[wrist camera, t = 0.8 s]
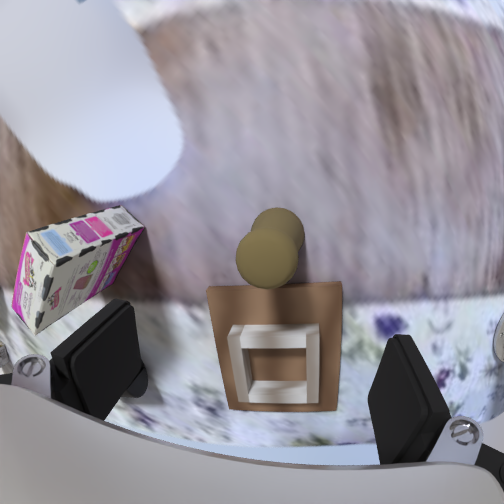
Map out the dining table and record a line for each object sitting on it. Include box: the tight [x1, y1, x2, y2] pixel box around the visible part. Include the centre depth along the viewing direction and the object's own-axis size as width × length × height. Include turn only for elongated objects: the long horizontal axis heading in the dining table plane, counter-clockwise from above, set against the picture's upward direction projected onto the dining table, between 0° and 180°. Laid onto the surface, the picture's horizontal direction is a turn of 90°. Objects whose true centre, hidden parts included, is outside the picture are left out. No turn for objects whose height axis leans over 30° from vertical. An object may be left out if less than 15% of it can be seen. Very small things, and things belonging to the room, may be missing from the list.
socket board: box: [206, 281, 342, 412], centre depth 36 cm, size 16×20×4 cm
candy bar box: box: [12, 205, 144, 336], centre depth 30 cm, size 11×5×16 cm, turn 142°
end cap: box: [121, 360, 148, 398], centre depth 41 cm, size 10×7×7 cm
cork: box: [236, 208, 305, 290], centre depth 29 cm, size 6×6×11 cm
